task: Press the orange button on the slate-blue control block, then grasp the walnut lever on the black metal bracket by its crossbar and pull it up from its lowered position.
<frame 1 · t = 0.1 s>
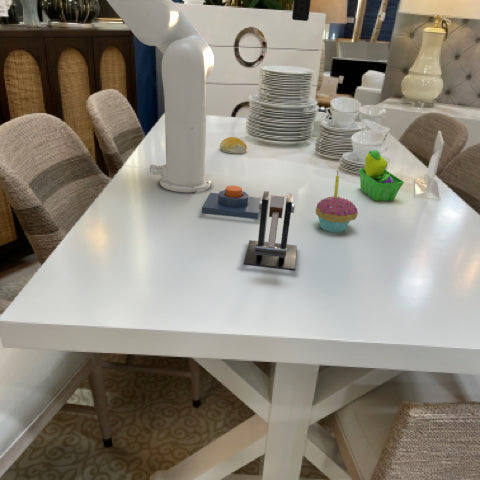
hand: (300, 20, 97), 37 cm above the table, tool pointing down, fingers open, 9 cm apart
lever: (273, 226, 78), point 8 cm above the table, hinge at -25.0°
bracket: (270, 259, 86), on the table
bread roll: (233, 151, 151), on the table
button block: (232, 211, 105), on the table
cupcake: (332, 232, 99), on the table
button: (233, 192, 102), point 4 cm above the table, slide at 0.1 cm
fruit basket: (374, 195, 122), on the table
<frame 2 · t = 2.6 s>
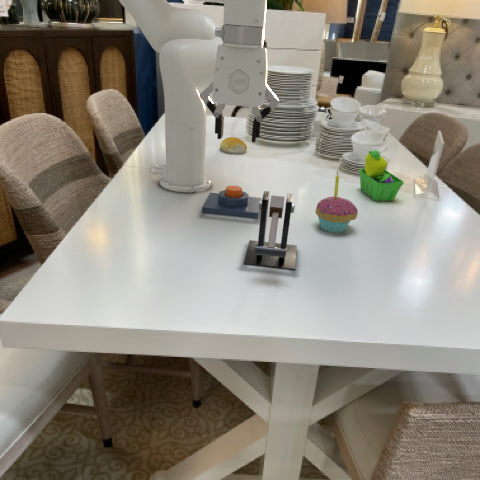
hand: (237, 138, 96), 16 cm above the table, tool pointing down, fingers open, 6 cm apart
nothing on the table moved.
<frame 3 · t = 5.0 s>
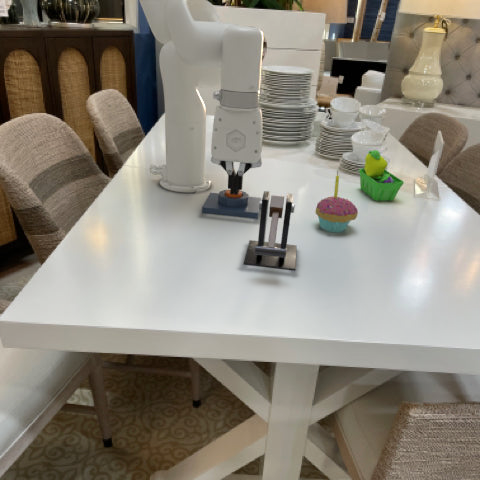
hand: (234, 192, 102), 5 cm above the table, tool pointing down, fingers closed
button: (233, 195, 103), point 4 cm above the table, slide at -0.7 cm, touching gripper
everything else where it was.
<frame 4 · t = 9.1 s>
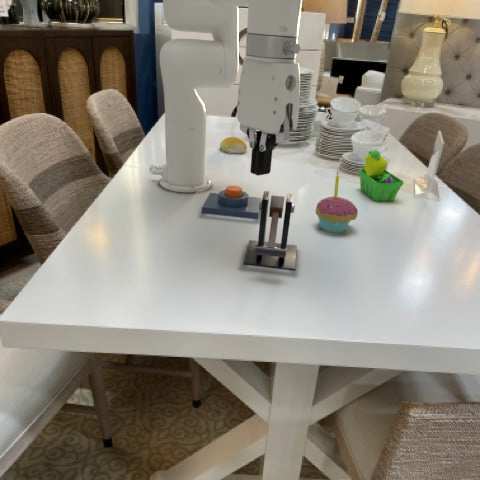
hand: (260, 173, 80), 15 cm above the table, tool pointing down, fingers closed
button: (233, 192, 102), point 4 cm above the table, slide at 0.1 cm
everything else where it was.
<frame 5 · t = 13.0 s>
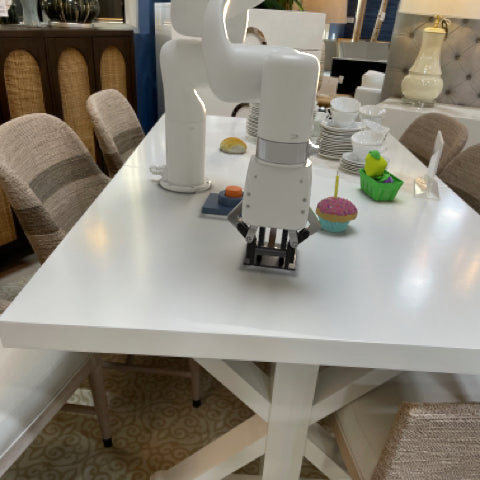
hand: (269, 263, 77), 3 cm above the table, tool pointing down, fingers closed on lever, 5 cm apart
lever: (273, 226, 78), point 8 cm above the table, hinge at -25.0°, touching gripper
everything else where it was.
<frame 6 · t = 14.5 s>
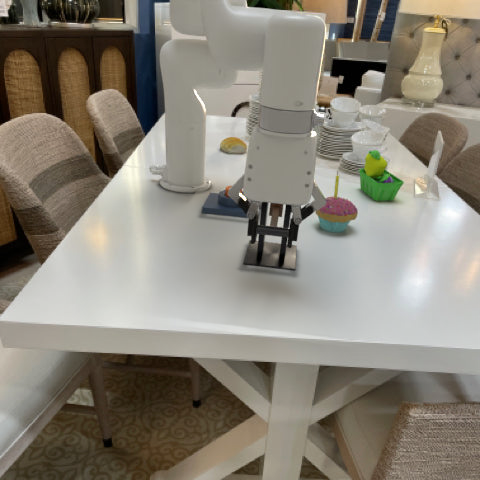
hand: (271, 241, 75), 7 cm above the table, tool pointing down, fingers closed on lever, 5 cm apart
lever: (274, 217, 77), point 10 cm above the table, hinge at -2.0°, touching gripper
everything else where it was.
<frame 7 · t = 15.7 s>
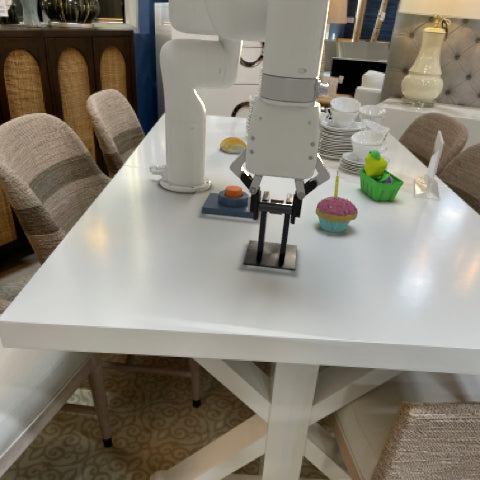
hand: (274, 218, 73), 11 cm above the table, tool pointing down, fingers closed on lever, 5 cm apart
lever: (276, 207, 76), point 11 cm above the table, hinge at 18.3°, touching gripper
everything else where it was.
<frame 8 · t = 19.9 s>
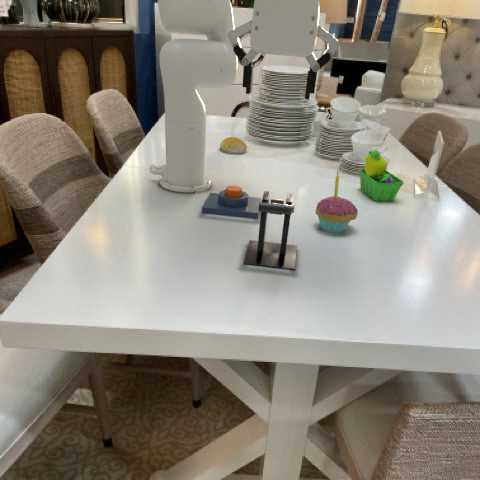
hand: (277, 95, 77), 26 cm above the table, tool pointing down, fingers open, 9 cm apart
lever: (276, 207, 76), point 11 cm above the table, hinge at 17.9°
everything else where it was.
at the end: button pushed in 1.0 cm at the most during the clip, back to where it started at the end; button slide at 0.1 cm; lever at +18° (first picture: -25°) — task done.
